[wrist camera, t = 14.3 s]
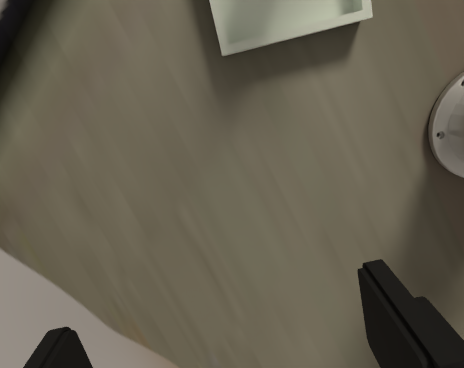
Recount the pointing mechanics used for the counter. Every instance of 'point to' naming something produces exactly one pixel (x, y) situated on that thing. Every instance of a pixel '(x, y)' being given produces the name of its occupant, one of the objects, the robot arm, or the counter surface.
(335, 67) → the counter surface
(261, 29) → the tray
